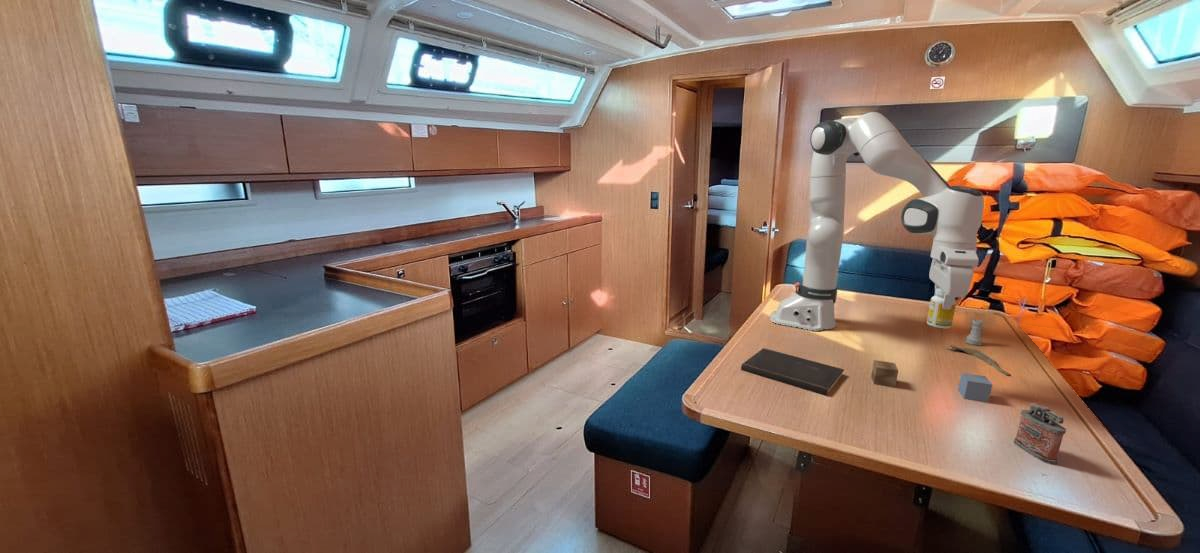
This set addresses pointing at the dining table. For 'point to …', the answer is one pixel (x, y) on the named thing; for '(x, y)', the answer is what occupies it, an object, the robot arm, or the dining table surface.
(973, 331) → the rook chess piece
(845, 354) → the dining table surface
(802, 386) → the hardcover book
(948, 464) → the dining table surface
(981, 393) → the slate-blue block
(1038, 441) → the lighter
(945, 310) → the supplement bottle
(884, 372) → the walnut block
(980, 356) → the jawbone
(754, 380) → the dining table surface
